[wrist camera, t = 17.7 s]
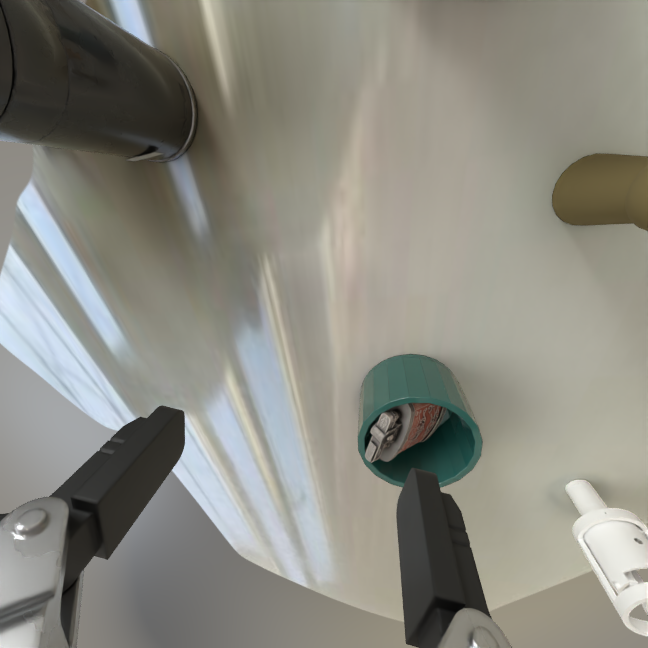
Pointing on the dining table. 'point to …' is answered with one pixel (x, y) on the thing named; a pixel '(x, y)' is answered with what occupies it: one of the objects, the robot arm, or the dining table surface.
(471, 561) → the robot arm
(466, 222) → the dining table surface
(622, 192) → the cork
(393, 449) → the lighter
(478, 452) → the ceramic cup
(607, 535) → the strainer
